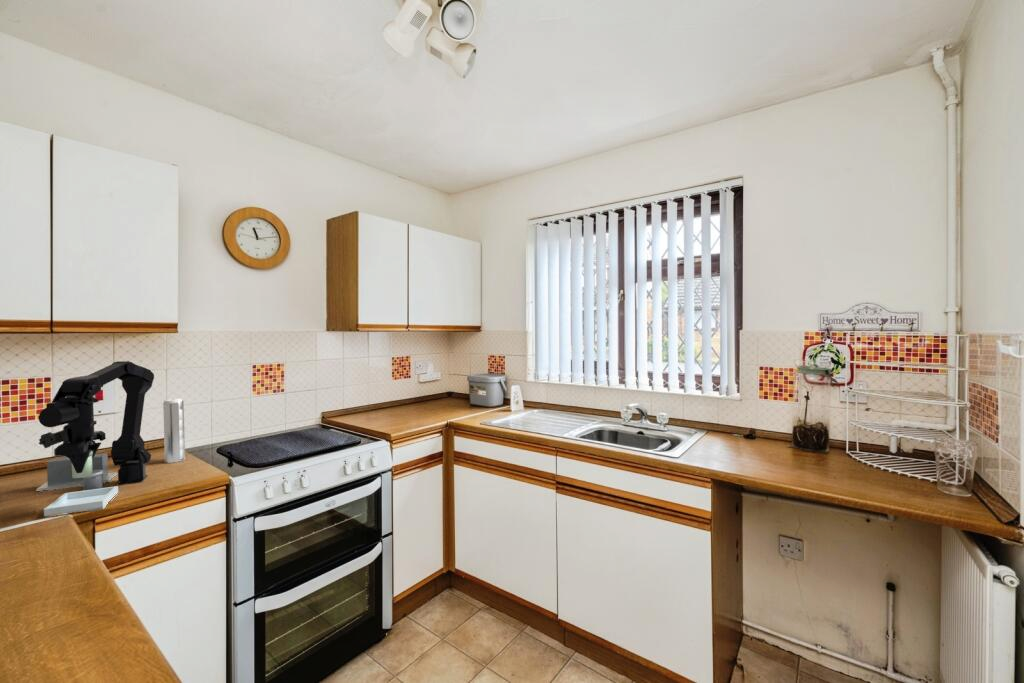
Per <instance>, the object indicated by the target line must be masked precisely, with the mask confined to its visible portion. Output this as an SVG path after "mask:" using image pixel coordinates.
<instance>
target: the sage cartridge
mask: <svg viewBox="0 0 1024 683" xmlns="http://www.w3.org/2000/svg"><path fill="white" fill-rule="evenodd" d="M92 455H93V451H91V452H90V454H89V457H88V459H87V462H86V464H85V467H84V469H83V471H82V473H76V471H75V468H74V466H73V464H72V478H82V477H87V476H90V475H92V474H93V472H92Z"/></svg>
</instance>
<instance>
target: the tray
mask: <svg viewBox="0 0 1024 683" xmlns="http://www.w3.org/2000/svg"><path fill="white" fill-rule="evenodd" d="M117 493H118V494H119V486H118V485H116V486H110V487H109V486H108V487H102V488H100V489H92V490H85V491H84V490H80V491H78V490H77V491H71V492H64V493H63V494H62V495H61V496H59V497H58V498H57V499H55V500H54V501H53V502H51V504H49V505H48V506H46V507H45V508H43V517H44V516H48V515H53V514H59V513H72V512H77V511H87V512H93V511H100V510H104V509H105V508H106V507H107V506H108V505H109V504H108V502H109V501H110V500H111V499H112V498H113V497H114V496H115V495H116V494H117ZM118 494H117V495H118ZM117 495H116V496H117ZM116 496H115V497H116ZM115 497H114V498H115ZM114 498H113V499H114ZM113 499H112V500H113ZM112 500H111V501H112ZM107 504H108V505H107ZM106 505H107V506H106ZM88 510H89V511H88Z"/></svg>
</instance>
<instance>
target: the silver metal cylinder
mask: <svg viewBox="0 0 1024 683" xmlns="http://www.w3.org/2000/svg"><path fill="white" fill-rule="evenodd" d="M184 402H185V400H182V398H170V399H169V398H168V399H165V400H163V403H162V406H163V437H164V438H163V440H164V441H163V442H164V463H166V462H167V464H173V462H174V463H179V462H183V461H184V460H186V441H185V440H186V439H185V436H186V435H185V408H184V407H185V406H184Z"/></svg>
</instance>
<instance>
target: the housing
mask: <svg viewBox="0 0 1024 683" xmlns="http://www.w3.org/2000/svg"><path fill="white" fill-rule="evenodd" d="M108 458H109V456H108V452H102V453H96V454H95V456H94V457H93V459H92V471H93V470H103V474H102V484H105V483H104V482H109V481H110V480H111V479H112V478H113V477H114V476H116V475H117V476H118V471H117V472H116V471H115V472H109V461H108V460H109V459H108ZM46 475H47V476H46V478H47V481H45V483H43V484H42V485H40V486H38V487H37V488H36V492H37V491H40V492H44V491H43V490H48V491H54V489H56V490H62V489H63V488H64V489H71V488H77V487H76V486H79V487H83V478H72V462H71V460H70V459H69V458H68V457H66V456H64V457H63V456H61V457H54V458H52V459H50V460H48V461H47V462H46ZM117 476H116V477H117ZM114 478H115V477H114ZM114 478H113V479H114ZM113 479H112V480H113ZM112 480H111V481H112ZM111 481H110V482H111ZM110 482H109V483H110ZM70 487H71V488H70ZM64 489H63V490H64Z"/></svg>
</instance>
